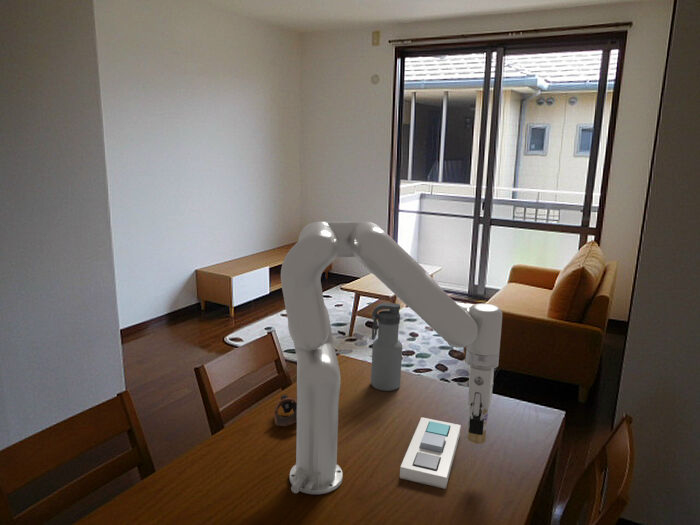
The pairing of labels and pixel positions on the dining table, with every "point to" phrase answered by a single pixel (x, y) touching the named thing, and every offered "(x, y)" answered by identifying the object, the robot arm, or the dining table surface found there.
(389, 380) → the water bottle
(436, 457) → the charcoal key
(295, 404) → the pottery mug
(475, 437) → the sprinkles bottle
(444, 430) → the teal key
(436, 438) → the slate key
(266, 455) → the dining table surface
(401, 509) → the dining table surface
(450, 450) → the keypad frame
